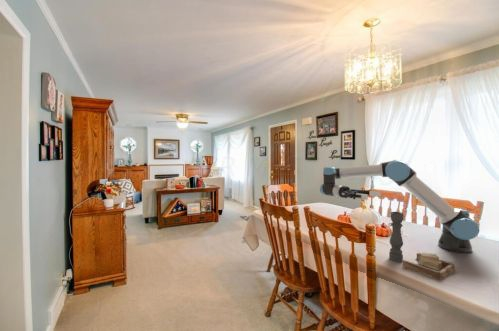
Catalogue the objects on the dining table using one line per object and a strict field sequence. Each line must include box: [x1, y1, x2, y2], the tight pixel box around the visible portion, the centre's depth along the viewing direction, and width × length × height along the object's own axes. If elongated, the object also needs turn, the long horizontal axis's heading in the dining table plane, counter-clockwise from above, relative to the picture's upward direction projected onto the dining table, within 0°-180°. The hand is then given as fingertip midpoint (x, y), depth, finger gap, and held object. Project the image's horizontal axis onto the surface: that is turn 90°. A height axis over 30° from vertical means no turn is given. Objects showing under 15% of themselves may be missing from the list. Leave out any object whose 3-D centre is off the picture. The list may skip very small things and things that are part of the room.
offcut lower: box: [418, 258, 443, 271], centre depth 119 cm, size 5×8×3 cm, turn 34°
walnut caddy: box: [402, 252, 456, 281], centre depth 116 cm, size 16×16×3 cm
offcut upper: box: [418, 251, 440, 264], centre depth 118 cm, size 4×7×3 cm, turn 69°
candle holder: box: [388, 211, 404, 263], centre depth 125 cm, size 6×6×25 cm
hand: (374, 195), depth 135 cm, fingers open, 13 cm apart
